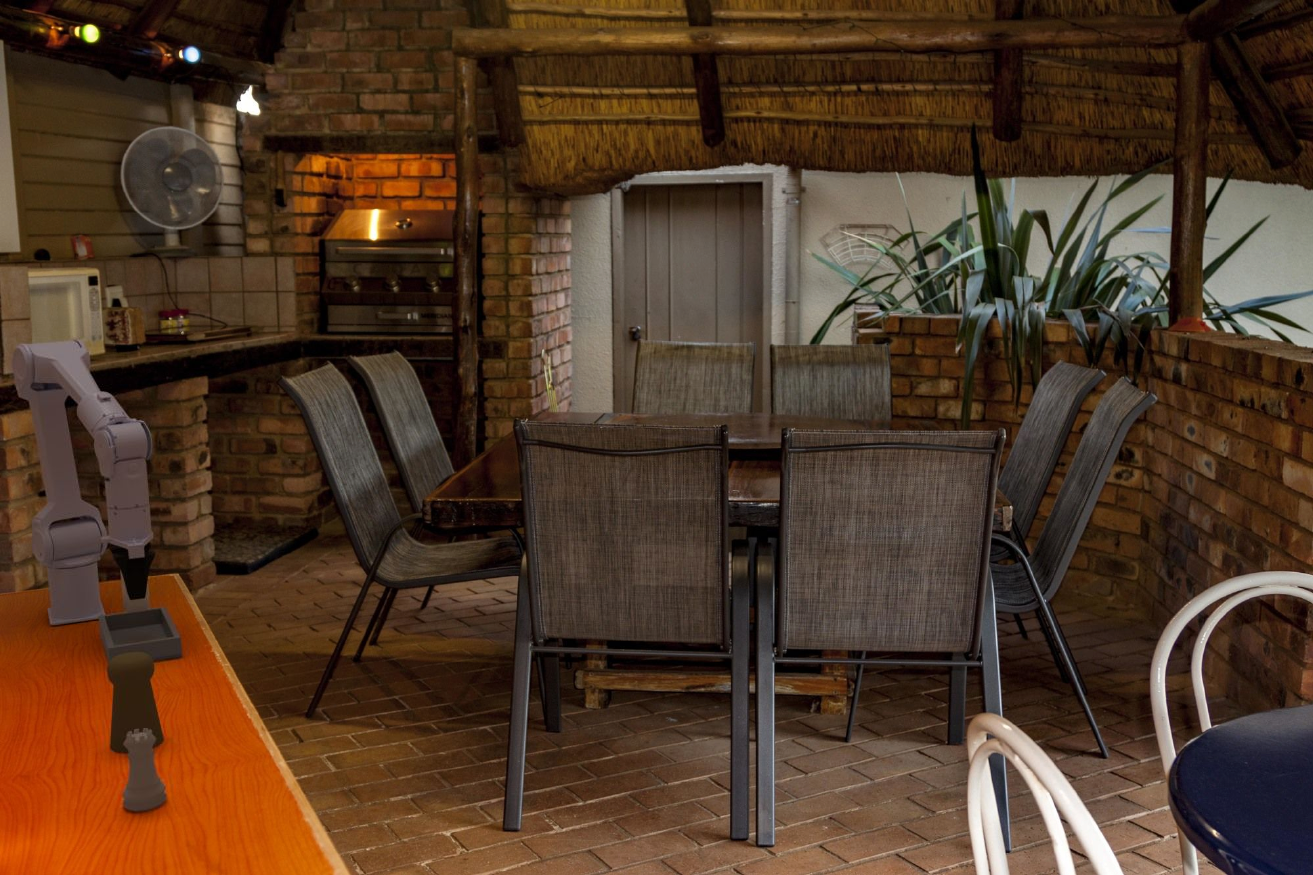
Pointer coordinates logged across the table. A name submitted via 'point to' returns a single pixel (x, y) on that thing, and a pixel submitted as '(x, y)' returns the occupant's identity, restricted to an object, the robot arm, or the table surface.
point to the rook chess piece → (142, 774)
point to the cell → (134, 604)
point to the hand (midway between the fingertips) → (135, 595)
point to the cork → (132, 699)
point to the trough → (140, 634)
